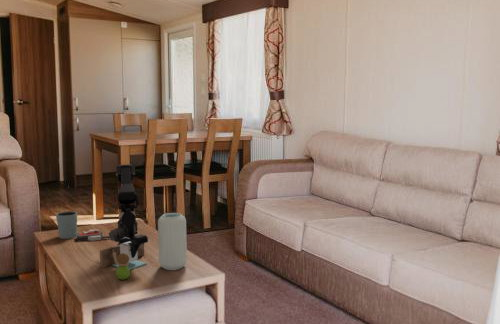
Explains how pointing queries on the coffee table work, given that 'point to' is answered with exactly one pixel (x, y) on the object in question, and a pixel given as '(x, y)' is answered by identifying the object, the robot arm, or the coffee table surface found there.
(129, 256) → the white rectangular block
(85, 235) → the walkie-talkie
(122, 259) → the snail figurine
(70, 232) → the grey-blue cup
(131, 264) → the teal mat
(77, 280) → the coffee table surface
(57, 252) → the coffee table surface
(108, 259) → the walnut screen
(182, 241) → the vase
